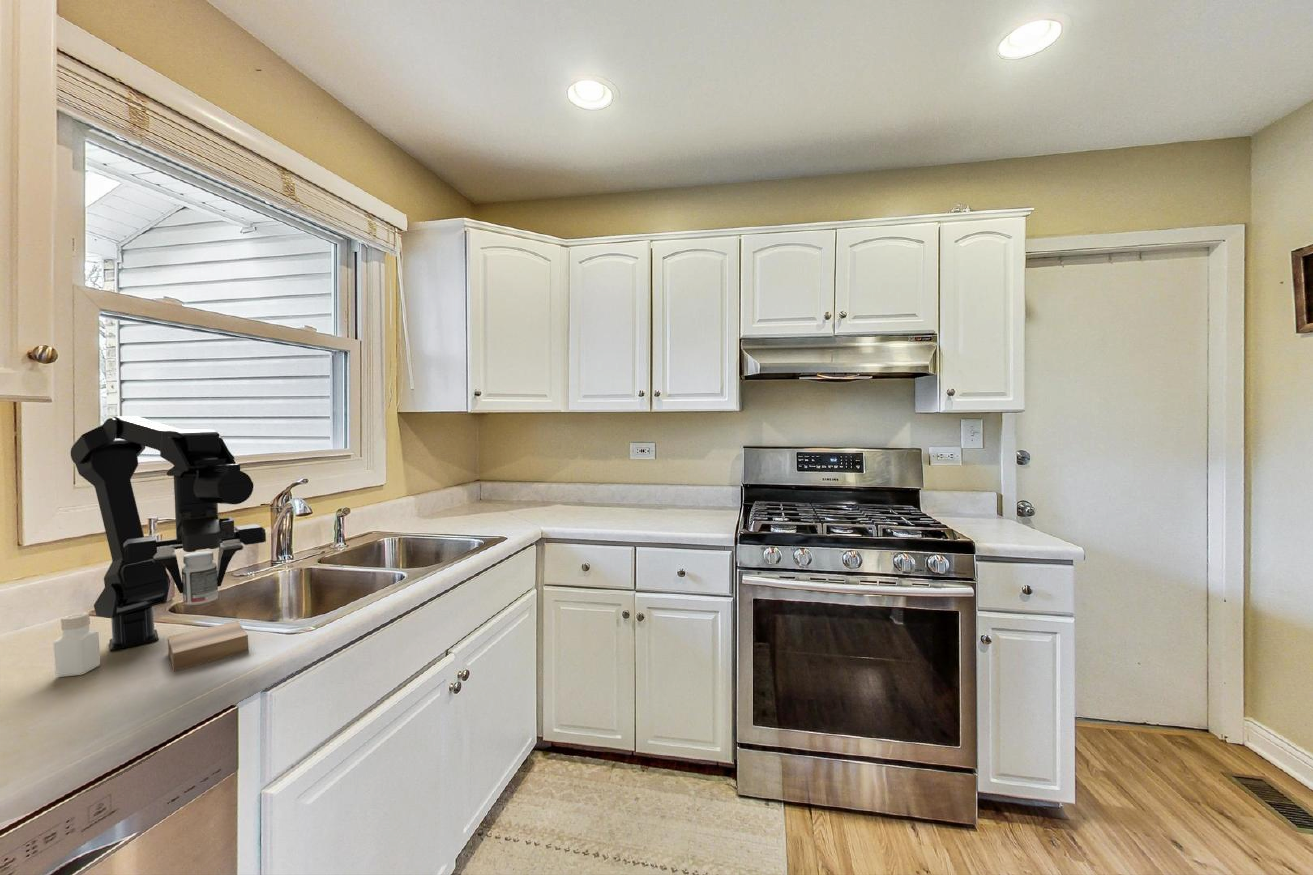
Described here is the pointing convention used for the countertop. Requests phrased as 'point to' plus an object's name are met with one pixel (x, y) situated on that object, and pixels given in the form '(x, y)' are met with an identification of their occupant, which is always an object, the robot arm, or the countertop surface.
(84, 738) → the countertop surface
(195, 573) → the pill bottle
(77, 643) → the pepper shaker
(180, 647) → the brown square block
